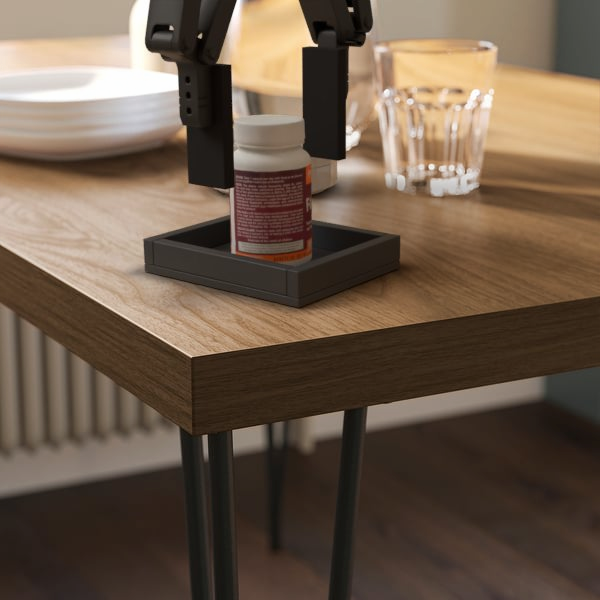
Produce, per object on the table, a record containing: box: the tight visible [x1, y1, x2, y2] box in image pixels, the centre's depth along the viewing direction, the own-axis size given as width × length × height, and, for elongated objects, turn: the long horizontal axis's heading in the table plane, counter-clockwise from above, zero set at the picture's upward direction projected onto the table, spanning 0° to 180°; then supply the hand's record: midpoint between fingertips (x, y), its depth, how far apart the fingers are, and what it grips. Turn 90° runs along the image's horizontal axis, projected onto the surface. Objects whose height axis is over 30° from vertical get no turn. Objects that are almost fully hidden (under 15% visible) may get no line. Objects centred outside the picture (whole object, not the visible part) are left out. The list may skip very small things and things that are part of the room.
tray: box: [142, 214, 401, 308], centre depth 69 cm, size 12×10×2 cm
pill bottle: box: [228, 114, 313, 267], centre depth 68 cm, size 5×5×8 cm
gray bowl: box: [213, 127, 338, 196], centre depth 91 cm, size 10×10×4 cm
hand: (270, 170), depth 67 cm, fingers open, 9 cm apart
